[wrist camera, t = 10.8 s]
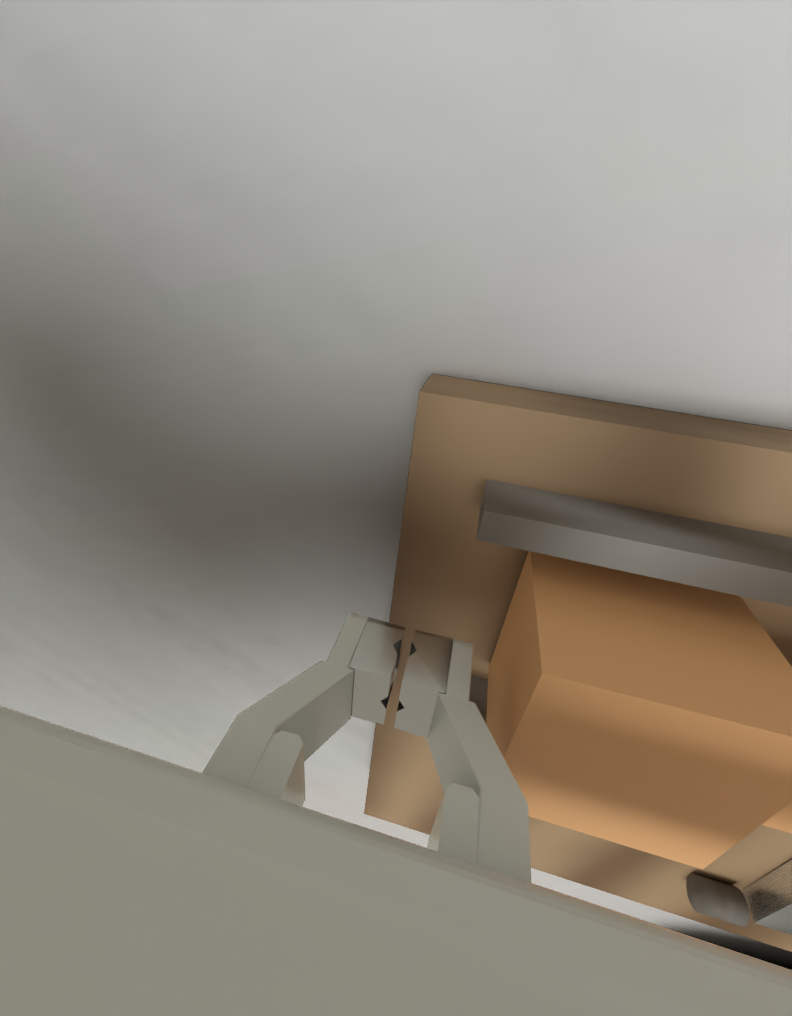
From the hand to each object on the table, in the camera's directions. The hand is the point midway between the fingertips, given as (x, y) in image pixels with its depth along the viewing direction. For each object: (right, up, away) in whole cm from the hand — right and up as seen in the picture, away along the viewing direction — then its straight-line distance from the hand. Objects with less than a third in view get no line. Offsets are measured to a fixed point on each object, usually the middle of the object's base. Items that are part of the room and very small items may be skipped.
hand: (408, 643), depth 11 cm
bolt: (+9, -1, +1) cm, 9 cm away
